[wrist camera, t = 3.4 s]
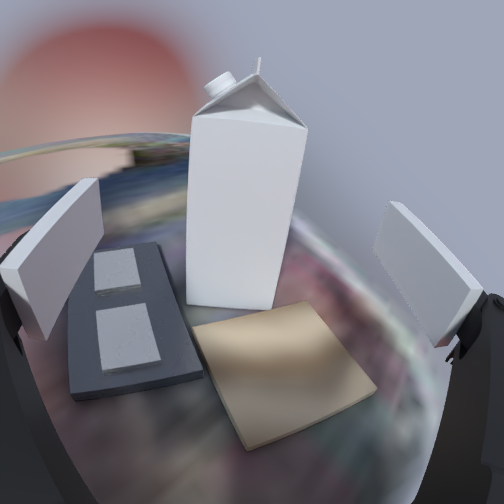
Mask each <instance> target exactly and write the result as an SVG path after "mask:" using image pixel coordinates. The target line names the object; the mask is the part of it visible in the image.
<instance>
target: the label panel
mask: <svg viewBox="0 0 504 504" xmlns="http://www.w3.org/2000/svg"><path fill="white" fill-rule="evenodd" d="M67 338H68V370H69V385H70V394H71V396H72V397H73V399H74V400H75V401H81V400H89V399H96V398H103V397H110V396H116V395H122V394H128V393H134V392H139V391H144V390H150V389H155V388H160V387H164V386H169V385H174V384H178V383H183V382H187V381H191V380H196V379H200V378H203V368H202V365H201V363H200V360H199V358H198V356H197V353H196V351H195V348H194V346H193V343H192V341H191V338H190V336H189V333H188V331H187V328H186V326H185V323H184V320H183V318H182V315H181V312H180V310H179V307H178V304H177V302H176V299H175V296H174V293H173V291H172V288H171V285H170V282H169V279H168V276H167V273H166V271H165V268H164V265H163V262H162V259H161V256H160V253H159V250H158V246H157V243H156V242H150V243H142V244H135V245H128V246H120V247H113V248H106V249H99V250H94V251H93V253H92V255H91V256H90V258H89V260H88V262H87V263H86V265H85V267H84V269H83V270H82V272H81V274H80V276H79V277H78V279H77V281H76V283H75V285H74V287H73V289H72V290H71V292H70V294H69V296H68V326H67Z"/></svg>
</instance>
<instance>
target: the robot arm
mask: <svg viewBox="0 0 504 504" xmlns="http://www.w3.org/2000/svg"><path fill="white" fill-rule="evenodd" d="M103 235H104V227H103V219H102V211H101V201H100V191H99V179H98V178H83V179H82V180H81V181H79V182H78V183H77V184H76V185H75V186H74V187H73V188H72V189H71V190H70V191H69V192H67V193H66V194H65V195H64V196H63V197H62V198H61V199H60V200H59V201H58V202H57V203H56V204H55V205H54V206H53V207H52V208H51V209H50V210H49V211H48V212H47V213H46V214H45V215H44V216H43V217H42V218H41V219H40V220H39V221H38V222H37V223H36V224H35V225H34V227H33V228H32V229H31V230H28V231H27V232H25V233H24V234H22V235H21V236H19V237H18V238H17V239H16V241H15V242H14V243H13V244H12V246H10V247H9V248H8V250H7V251H6V253H4V254H3V255H2V257H1V258H0V504H98V503H97V501H96V500H95V498H94V497H93V495H92V494H91V492H90V491H89V489H88V488H87V486H86V484H85V483H84V481H83V480H82V478H81V476H80V475H79V473H78V471H77V470H76V468H75V466H74V464H73V463H72V461H71V459H70V457H69V456H68V454H67V452H66V450H65V448H64V446H63V444H62V442H61V440H60V438H59V436H58V434H57V432H56V430H55V428H54V426H53V424H52V422H51V419H50V417H49V415H48V413H47V410H46V408H45V406H44V403H43V401H42V399H41V396H40V394H39V391H38V388H37V386H36V383H35V380H34V378H33V375H32V372H31V369H30V366H29V363H28V360H27V357H26V354H25V351H24V347H23V344H22V341H21V338H20V337H19V335H18V331H19V329H20V327H21V325H23V327H24V329H25V331H26V333H27V335H28V337H30V338H35V339H39V340H44V341H47V339H48V337H49V335H50V333H51V330H52V328H53V326H54V324H55V322H56V320H57V318H58V316H59V314H60V312H61V310H62V308H63V306H64V304H65V302H66V300H67V298H68V296H69V294H70V292H71V290H72V289H73V287H74V285H75V283H76V281H77V279H78V277H79V276H80V274H81V272H82V270H83V269H84V267H85V265H86V263H87V262H88V260H89V258H90V256H91V255H92V253H93V251H94V250H95V248H96V246H97V245H98V243H99V241H100V240H101V238H102V237H103ZM372 250H373V252H374V253H375V254H376V256H377V257H378V259H379V260H380V262H381V263H382V265H383V266H384V268H385V269H386V271H387V272H388V274H389V275H390V277H391V278H392V280H393V281H394V283H395V284H396V286H397V287H398V289H399V291H400V292H401V294H402V295H403V297H404V298H405V300H406V302H407V303H408V305H409V306H410V308H411V309H412V311H413V313H414V314H415V316H416V318H417V319H418V321H419V323H420V324H421V326H422V328H423V330H424V331H425V333H426V335H427V336H428V338H429V340H430V342H431V343H432V345H433V347H434V348H437V347H443V346H448V345H449V343H450V342H451V340H452V339H453V337H454V336H455V335H456V334H457V336H458V338H459V339H460V340H459V342H458V343H457V344H456V346H455V347H454V349H453V350H452V351H451V353H450V354H449V355H448V357H447V358H446V360H445V361H446V362H448V361H449V359H450V358H453V361H452V362H451V363H450V364H452V371H451V376H450V382H449V387H448V392H447V397H446V402H445V406H444V410H443V415H442V419H441V423H440V426H439V430H438V434H437V437H436V441H435V444H434V448H433V451H432V454H431V457H430V460H429V463H428V466H427V469H426V472H425V475H424V477H423V480H422V483H421V485H420V488H419V490H418V493H417V495H416V497H415V499H414V501H413V502H412V503H411V504H504V298H503V297H501V296H499V295H497V294H492V293H491V294H489V295H487V294H486V293H485V292H484V290H483V287H482V286H481V285H480V284H479V283H478V282H477V280H476V279H475V278H474V277H473V276H472V275H471V274H470V272H468V270H467V269H466V268H465V267H464V266H463V265H462V263H461V262H460V261H459V260H458V259H457V258H456V257H455V256H454V255H453V254H452V252H450V250H449V249H448V248H447V247H446V246H445V245H444V244H443V243H442V242H441V241H440V240H439V239H438V238H437V237H436V236H435V235H434V234H433V233H432V232H431V231H430V230H429V229H428V228H427V227H426V226H425V225H424V224H423V223H422V222H421V221H420V220H419V219H418V218H417V217H416V216H415V215H414V214H413V213H411V212H410V211H409V210H408V209H407V208H406V207H405V206H404V205H403V204H402V203H400V202H394V201H388V203H387V206H386V209H385V213H384V216H383V219H382V222H381V225H380V228H379V231H378V234H377V237H376V240H375V243H374V246H373V248H372Z"/></svg>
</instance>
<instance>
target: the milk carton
mask: <svg viewBox="0 0 504 504" xmlns="http://www.w3.org/2000/svg"><path fill="white" fill-rule="evenodd" d="M260 65H261V58H260V57H258V58H256V59H255V60H254V61H253V67H252V74H251V75H250V76H248V77H246V78H245V79H243V80H242V81H240V82H239V83H236V82H237V81H236V80H235V79H234V78H233V76H232V74H231V73H230V72H225V73H224V74H222V75H220V76H219V77H217V78H216V79H214V80H213V81H211V82H210V83H208V84H207V85H206V86H205V87H204V89H205V91H206V92H207V93H208V94H209V96H210V97H211V98H212V99H213V100H211V101H210V102H208V103H207V104H206V105H205V106H204V107H202V108H201V109H200V110H199V111H198V112H197V113H196V114H195V115H194V116H193V118H192V126H191V138H190V153H189V171H188V194H187V228H186V303H187V304H189V305H199V306H210V307H223V308H236V309H251V310H271V309H272V305H273V300H274V296H275V291H276V287H277V282H278V278H279V273H280V269H281V264H282V260H283V255H284V250H285V246H286V241H287V236H288V232H289V227H290V222H291V217H292V212H293V207H294V202H295V197H296V192H297V187H298V182H299V177H300V172H301V167H302V161H303V156H304V151H305V146H306V140H307V135H308V128H307V127H306V126H305V125H304V123H303V122H302V121H301V120H300V119H299V118H298V116H297V115H296V114H295V113H294V112H293V111H292V110H291V108H290V107H289V106H288V105H287V104H286V103H285V102H284V101H283V100H282V98H281V97H280V96H279V95H278V94H277V93H276V92H275V91H274V90H273V89H272V88H271V86H270V85H269V84H268V83H267V82H266V81H265V80H264V79H263V78H262V77H261V76H260V75H259V72H260Z"/></svg>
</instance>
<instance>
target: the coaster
mask: <svg viewBox="0 0 504 504" xmlns="http://www.w3.org/2000/svg"><path fill="white" fill-rule="evenodd" d="M192 333H193V337H194V339H195V341H196V344H197V346H198V349H199V351H200V353H201V356H202V358H203V360H204V363H205V365H206V367H207V370H208V372H209V374H210V377H211V379H212V381H213V383H214V385H215V388H216V390H217V392H218V394H219V396H220V399H221V401H222V403H223V405H224V407H225V409H226V411H227V413H228V416H229V418H230V420H231V422H232V424H233V426H234V428H235V430H236V432H237V434H238V436H239V438H240V440H241V442H242V444H243V446H244V448H245V450H246V452H247V451H250V450H253V449H256V448H259V447H261V446H264V445H267V444H269V443H272V442H274V441H277V440H280V439H282V438H284V437H287V436H289V435H292V434H294V433H296V432H299V431H301V430H303V429H305V428H308V427H310V426H312V425H314V424H316V423H319V422H321V421H323V420H325V419H327V418H329V417H331V416H333V415H335V414H337V413H339V412H341V411H343V410H345V409H347V408H349V407H351V406H352V405H354V404H356V403H358V402H360V401H362V400H363V399H365V398H367V397H369V396H371V395H372V394H373V393H374V392H375V391H376V390H377V387H376V386H375V384H374V383H373V382H372V381H371V379H370V378H369V377H368V376H367V375H366V373H365V372H364V371H363V370H362V368H361V367H360V366H359V365H358V363H357V362H356V361H355V360H354V358H353V357H352V356H351V355H350V354H349V352H348V351H347V350H346V349H345V347H344V346H343V345H342V344H341V343H340V341H339V340H338V339H337V338H336V336H335V335H334V334H333V333H332V331H331V330H330V329H329V328H328V327H327V325H326V324H325V323H324V322H323V320H322V319H321V318H320V317H319V316H318V314H317V313H316V312H315V311H314V310H313V308H312V307H311V306H310V305H309V303H308V302H307V301H303V302H299V303H295V304H291V305H287V306H283V307H279V308H275V309H271V310H267V311H263V312H258V313H254V314H250V315H246V316H241V317H237V318H232V319H228V320H223V321H219V322H214V323H209V324H205V325H200V326H195V327H192Z"/></svg>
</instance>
